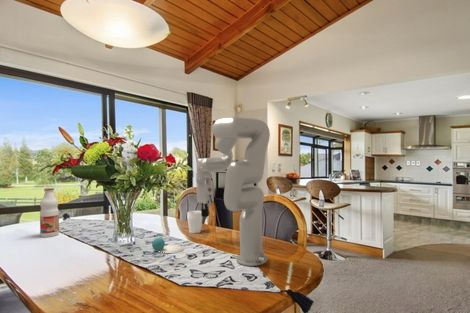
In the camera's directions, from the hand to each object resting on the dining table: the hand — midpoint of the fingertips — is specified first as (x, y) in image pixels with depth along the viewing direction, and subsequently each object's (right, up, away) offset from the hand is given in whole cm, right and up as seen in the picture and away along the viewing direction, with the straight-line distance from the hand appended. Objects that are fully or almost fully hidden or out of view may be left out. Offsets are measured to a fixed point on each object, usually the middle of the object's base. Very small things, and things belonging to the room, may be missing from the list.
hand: (204, 216), depth 151 cm
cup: (-8, -14, +19) cm, 25 cm away
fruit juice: (-94, -15, +18) cm, 97 cm away
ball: (-21, -11, -14) cm, 27 cm away
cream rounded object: (-15, -13, -13) cm, 24 cm away
